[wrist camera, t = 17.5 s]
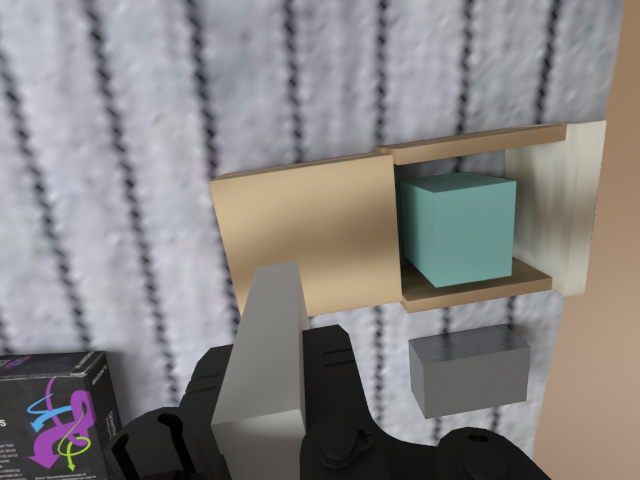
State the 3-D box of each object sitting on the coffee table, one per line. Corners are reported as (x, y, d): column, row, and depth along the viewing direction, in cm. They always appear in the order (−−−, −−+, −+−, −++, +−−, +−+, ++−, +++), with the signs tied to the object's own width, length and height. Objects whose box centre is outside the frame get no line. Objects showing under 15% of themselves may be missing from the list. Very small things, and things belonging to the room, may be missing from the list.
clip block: (433, 193, 17) (516, 181, 17) (400, 180, 22) (463, 171, 22) (435, 287, 18) (511, 275, 19) (404, 255, 24) (463, 246, 24)
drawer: (222, 169, 21) (196, 180, 15) (523, 125, 22) (606, 119, 16) (252, 300, 24) (239, 351, 18) (516, 257, 24) (584, 293, 19)
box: (149, 517, 31) (111, 344, 24) (132, 564, 27) (84, 377, 21) (-12, 532, 29) (-95, 353, 23) (-50, 584, 26) (-159, 390, 20)
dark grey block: (408, 340, 26) (422, 365, 23) (504, 324, 26) (530, 346, 23) (411, 390, 27) (425, 419, 24) (502, 374, 28) (526, 400, 25)
